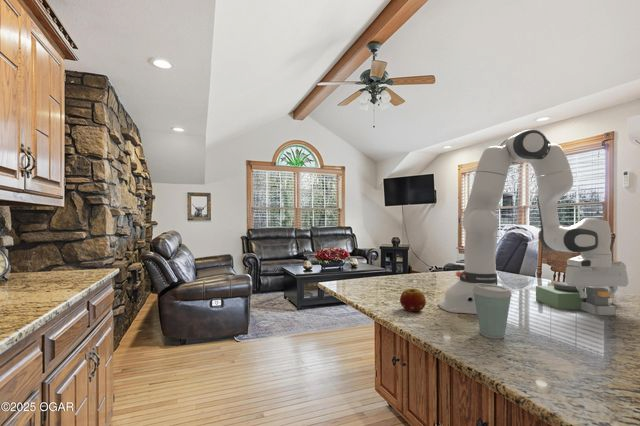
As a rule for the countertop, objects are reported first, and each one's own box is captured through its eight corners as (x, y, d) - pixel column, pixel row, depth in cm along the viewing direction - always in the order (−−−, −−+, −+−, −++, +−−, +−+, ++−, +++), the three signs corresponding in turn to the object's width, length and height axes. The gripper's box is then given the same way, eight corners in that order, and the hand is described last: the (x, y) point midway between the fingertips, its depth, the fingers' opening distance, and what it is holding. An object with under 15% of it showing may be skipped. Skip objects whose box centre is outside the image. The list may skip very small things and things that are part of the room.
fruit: (398, 312, 122) (398, 291, 122) (401, 306, 130) (401, 286, 131) (425, 314, 118) (424, 293, 119) (426, 308, 127) (426, 288, 127)
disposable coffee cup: (505, 330, 102) (504, 282, 102) (519, 343, 91) (518, 290, 91) (469, 328, 104) (468, 281, 104) (478, 340, 93) (477, 288, 93)
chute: (586, 310, 123) (585, 286, 123) (598, 310, 123) (598, 286, 123) (599, 315, 116) (599, 290, 117) (613, 315, 116) (612, 290, 116)
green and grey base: (571, 314, 117) (570, 292, 118) (535, 299, 139) (535, 281, 139) (623, 315, 116) (623, 292, 116) (579, 300, 138) (579, 281, 138)
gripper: (618, 260, 123) (618, 296, 123) (562, 259, 125) (562, 295, 125) (632, 262, 117) (633, 300, 117) (573, 262, 119) (574, 299, 118)
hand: (596, 298), depth 121 cm, fingers open, 8 cm apart
